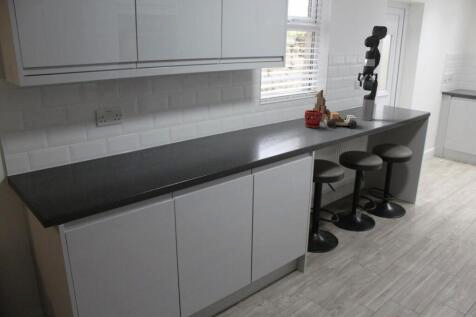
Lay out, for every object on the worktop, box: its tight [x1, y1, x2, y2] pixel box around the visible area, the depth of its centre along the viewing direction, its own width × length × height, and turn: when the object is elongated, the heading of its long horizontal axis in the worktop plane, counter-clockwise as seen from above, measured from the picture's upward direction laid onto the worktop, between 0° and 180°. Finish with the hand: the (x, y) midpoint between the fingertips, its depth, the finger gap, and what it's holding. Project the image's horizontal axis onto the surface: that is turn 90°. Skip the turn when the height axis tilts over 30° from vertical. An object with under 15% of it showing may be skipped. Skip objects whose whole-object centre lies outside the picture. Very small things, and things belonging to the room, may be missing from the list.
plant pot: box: [304, 109, 323, 129], centre depth 296 cm, size 13×13×12 cm
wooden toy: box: [311, 89, 331, 123], centre depth 318 cm, size 16×7×25 cm, turn 41°
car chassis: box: [323, 114, 358, 129], centre depth 304 cm, size 17×22×8 cm
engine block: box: [330, 111, 340, 119], centre depth 303 cm, size 7×5×6 cm
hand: (366, 86), depth 299 cm, fingers open, 8 cm apart
